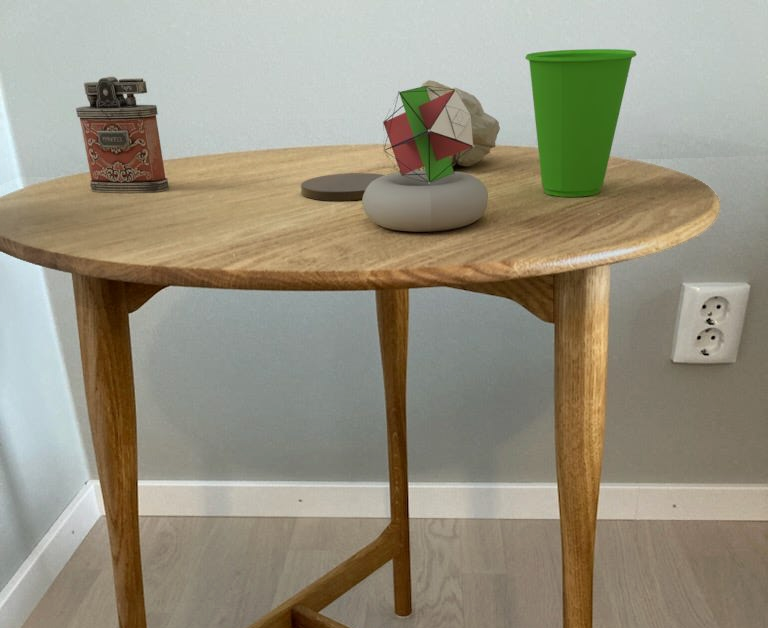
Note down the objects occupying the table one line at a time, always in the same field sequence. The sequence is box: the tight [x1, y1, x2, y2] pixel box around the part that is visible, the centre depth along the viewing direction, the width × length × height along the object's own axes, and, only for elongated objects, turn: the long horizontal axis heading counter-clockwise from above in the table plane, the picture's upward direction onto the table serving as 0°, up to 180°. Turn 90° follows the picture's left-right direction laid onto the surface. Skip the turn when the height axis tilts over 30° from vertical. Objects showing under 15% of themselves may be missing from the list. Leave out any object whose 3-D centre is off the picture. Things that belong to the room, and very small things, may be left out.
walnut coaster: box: [300, 172, 385, 202], centre depth 85 cm, size 9×9×1 cm
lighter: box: [75, 76, 170, 194], centre depth 88 cm, size 8×3×10 cm, turn 76°
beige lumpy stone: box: [420, 79, 501, 168], centre depth 93 cm, size 12×8×10 cm
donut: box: [361, 169, 489, 233], centre depth 72 cm, size 10×4×10 cm
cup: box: [524, 48, 637, 198], centre depth 78 cm, size 9×9×11 cm
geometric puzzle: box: [382, 85, 474, 184], centre depth 70 cm, size 7×7×8 cm
